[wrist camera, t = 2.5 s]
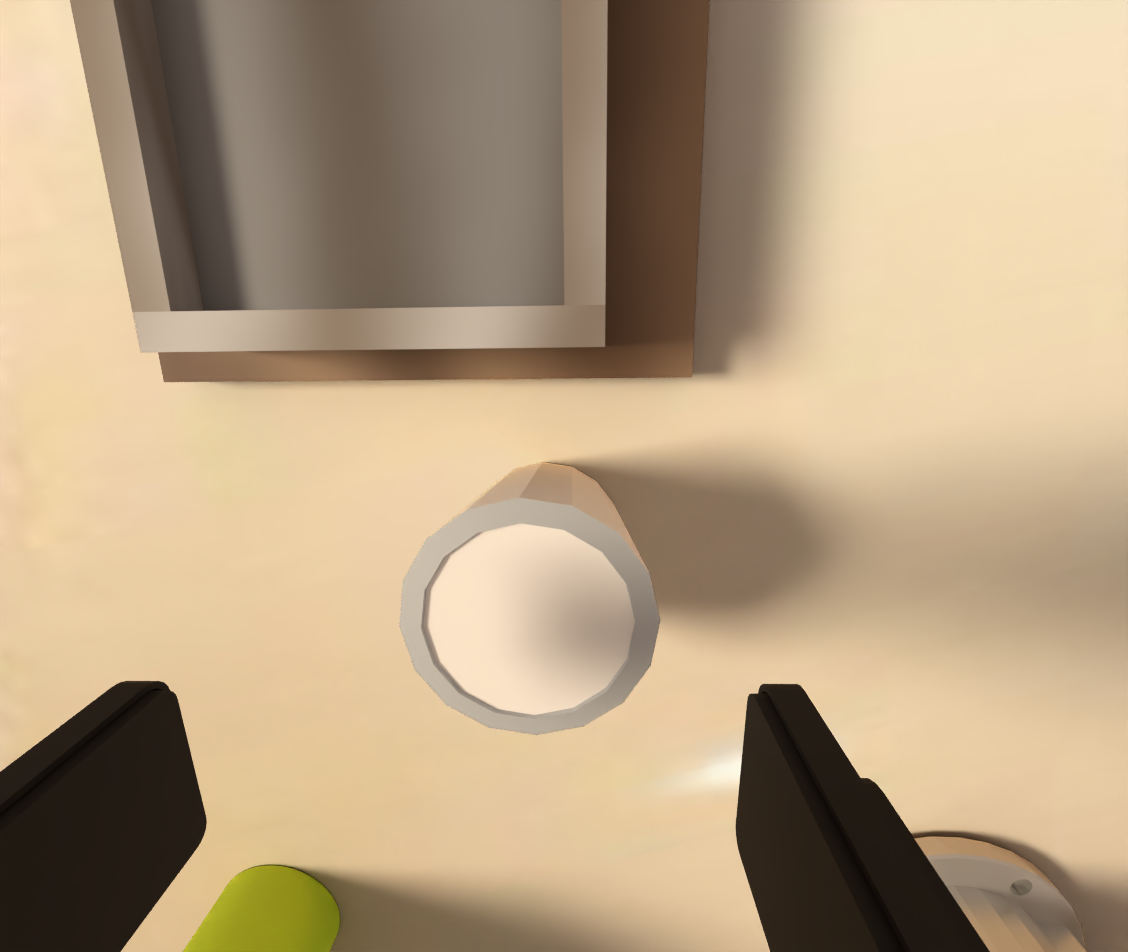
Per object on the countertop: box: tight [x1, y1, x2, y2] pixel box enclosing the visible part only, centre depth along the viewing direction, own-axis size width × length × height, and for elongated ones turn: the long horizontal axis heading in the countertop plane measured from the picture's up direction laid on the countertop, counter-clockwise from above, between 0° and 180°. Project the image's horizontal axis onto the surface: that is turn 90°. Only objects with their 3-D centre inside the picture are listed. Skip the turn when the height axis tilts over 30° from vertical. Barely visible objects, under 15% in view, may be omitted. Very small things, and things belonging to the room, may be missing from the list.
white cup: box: [399, 462, 660, 735], centre depth 17 cm, size 7×7×7 cm
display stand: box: [70, 0, 710, 382], centre depth 15 cm, size 18×14×6 cm
